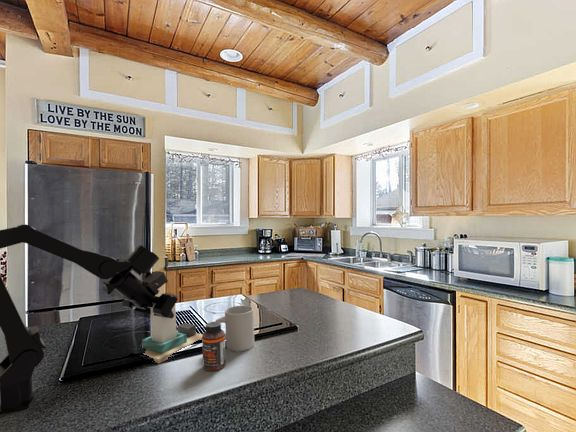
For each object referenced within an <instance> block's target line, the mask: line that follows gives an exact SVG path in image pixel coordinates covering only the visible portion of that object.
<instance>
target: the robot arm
mask: <svg viewBox="0 0 576 432" xmlns="http://www.w3.org/2000/svg"><path fill="white" fill-rule="evenodd" d="M23 243H25V244H27V245H30V246H31V247H32V246H33V247H34V248H37V249H39V250H42V251H44V252H46V253H50V254H52V255H55V256H57V257H60V258H62V259H64V260H66V261H69V262H72V263H74V264H76V265H77V266H79V267H80V268H82V269H83V270H85V271H87V272H89V274H91V275H93V276H95V277H97V278H99V279H101V280H107V281H103V282H102V292H104V293H105V294H107V295H111V294H112V293H113V292H114V291H116V292H118V293H119V295H121V296H123V297H122V299H123V300H122V306H123V307H124V308H125V309H127V310H129V311H133V310H134V312H137V313H142V314H148V315H151V308H152V307H153V306H154V307H153V313H154V315H155V316H159V317H166V318H173V317H174V314H173V312H172V308H173V307H174V305H175V306H176V304H177V302H178V300H179V298H178V296H176V294H174V293H169V292H163V293H161V294H160V295H159V296H158V294H159V292H160V290H159V289H160V288H161V287H162V286H164V285H165V284H167V283H168V282H169V280H168V278H167V275H166V274H165V272H164V271H159V270H156V271H151V272H150V270H151V269H153V267H154V266H155V265H156V264H157V262H159V260H160V258H159V256H158V255H157V254H156V253H154V252H153V251H151V250H150V249H148V248H146V247H145V246H143V245H141V244H138V245H137V246H136V248H135V249H134V250H133V252H132V253H131V254H129V256H128V257H127V258H126V259H123V258H114V257H112V256H109V255H105V254H101V253H97V252H94V251H90V250H87V249H82V248H80V247H78V246H75V245H73V244H70V243H69V242H66V241H64V240H63V239H60V238H57V237H54V236H52V235H50V234H49V233H48V234H47V233H45V232H43V231H40V230H39V229H36V228H35V227H33V226H32V225H29V224H19V225H16V226H14V227H9V228H3V229H0V250H1V249H4V248H7V247H8V248H9V247H11V246H16V245H18V244H23ZM132 272H133V273H134V274H133V273H132ZM135 274H136V275H135ZM137 276H139V277H141V279H140V278H138V277H137ZM156 295H157V296H156ZM0 329H1V332H2V333H3V335H4V336H3V337H4V339H5V344H6V349H7V355H6V356H5V357H4V358H3V360H1V361H0V414H4V413H7V412H13V411H19V410H24V409H28V408H29V407H31V406H32V404H33V403H34V401H35V400H36V399H37V398H38V396H39V395H40V393H41V390H40V389H39V390H34V377H33V373H34V370H35V368H36V367H38V366H39V364H41V363H42V361H43V359H44V358H45V354H44V349H46V348H47V346H46V344H45V341H44V338H42V337H40V332H39V330H38V327H37V325H34V326H33V327H31V328H28V326H27V325H26V324H25V323H24V321H23V320H22V317H21V315H20V312H19V311H18V308H17V307H16V305H15V302H14V301H13V298H12V295H11V294H10V292H9V290H8V288H7V286H6V284H5V281H4V280H3V277H2V275H1V274H0Z"/></svg>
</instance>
